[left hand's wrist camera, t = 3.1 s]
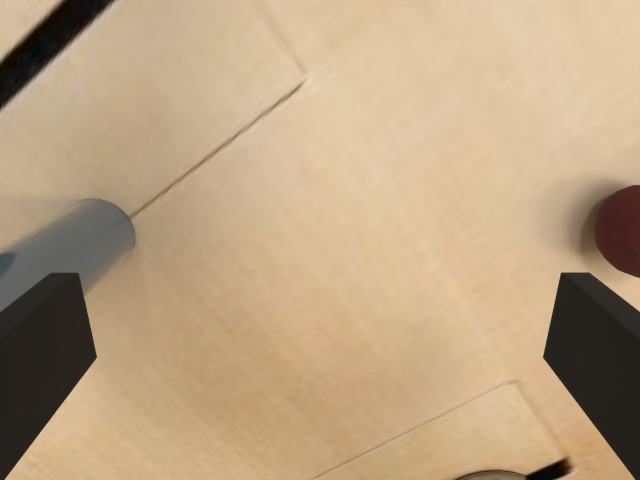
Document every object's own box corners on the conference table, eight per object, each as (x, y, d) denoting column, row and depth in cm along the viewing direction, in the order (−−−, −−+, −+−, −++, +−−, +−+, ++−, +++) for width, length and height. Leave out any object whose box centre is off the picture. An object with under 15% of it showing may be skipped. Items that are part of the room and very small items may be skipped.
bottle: (77, 268, 43) (-203, 505, 20) (54, 203, 41) (-293, 388, 18) (143, 259, 43) (-65, 491, 20) (123, 194, 40) (-138, 369, 17)
